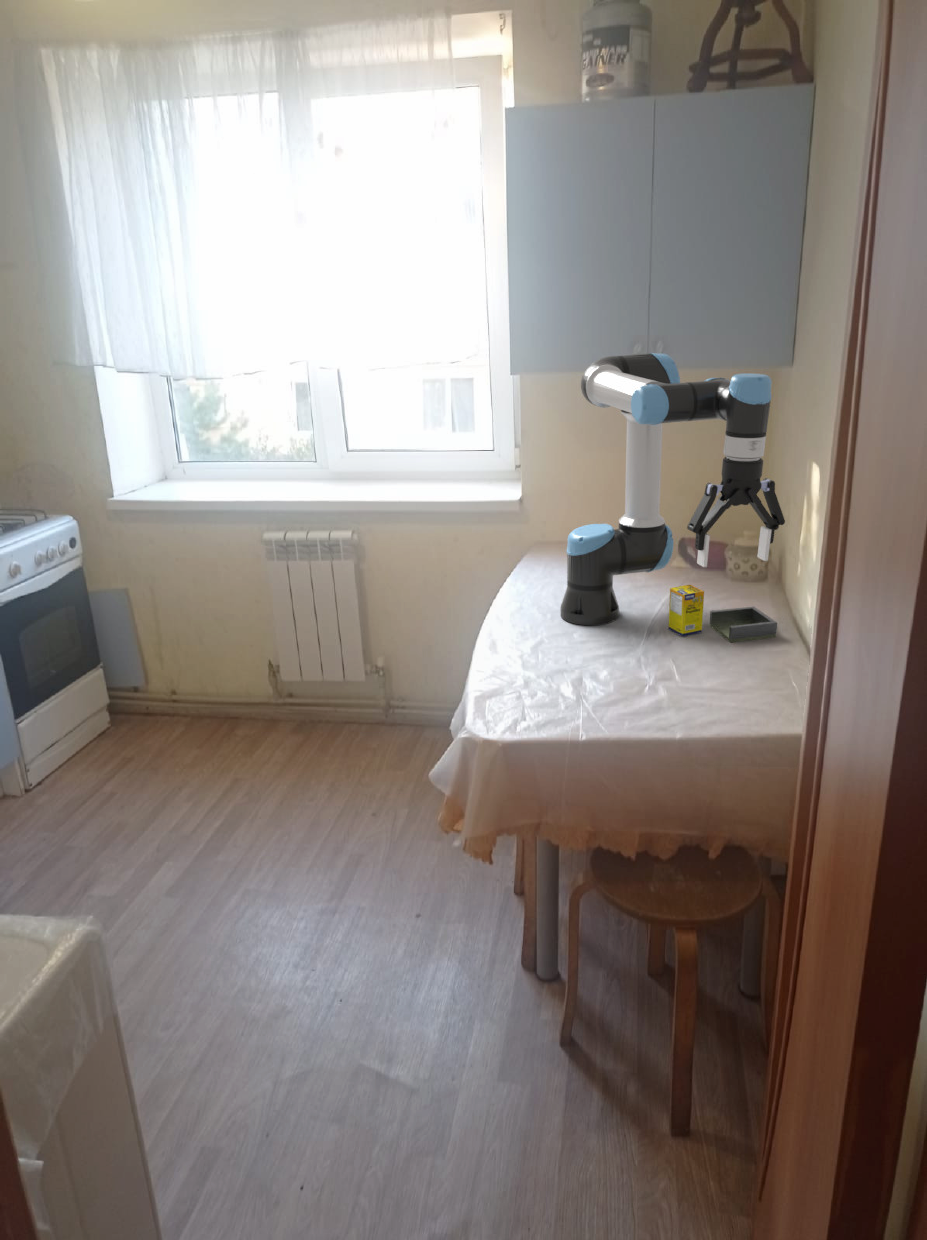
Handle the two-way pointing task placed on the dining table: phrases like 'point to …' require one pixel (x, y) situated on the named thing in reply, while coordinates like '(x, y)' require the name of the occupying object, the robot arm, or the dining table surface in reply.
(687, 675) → the dining table surface
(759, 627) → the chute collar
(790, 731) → the dining table surface
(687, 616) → the supplement box
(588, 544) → the robot arm
